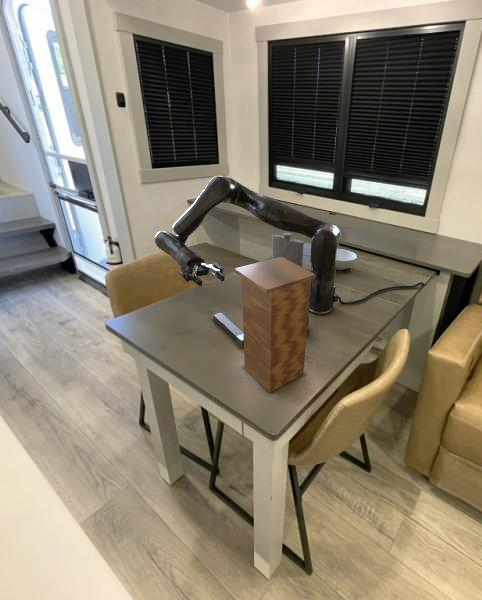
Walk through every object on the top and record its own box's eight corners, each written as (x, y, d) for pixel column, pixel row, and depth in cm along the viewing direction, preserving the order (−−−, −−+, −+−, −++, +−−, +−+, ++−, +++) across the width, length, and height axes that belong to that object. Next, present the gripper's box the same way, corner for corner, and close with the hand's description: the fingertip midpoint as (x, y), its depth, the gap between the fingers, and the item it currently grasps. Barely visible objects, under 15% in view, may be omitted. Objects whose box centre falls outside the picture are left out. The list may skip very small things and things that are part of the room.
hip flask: (302, 276, 156) (305, 235, 146) (298, 279, 152) (301, 238, 143) (274, 268, 162) (275, 228, 152) (269, 271, 159) (270, 230, 149)
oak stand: (278, 348, 107) (281, 256, 91) (307, 372, 98) (315, 274, 82) (238, 367, 98) (233, 268, 82) (265, 395, 89) (266, 290, 73)
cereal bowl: (356, 275, 161) (359, 261, 158) (323, 272, 161) (324, 259, 158) (352, 261, 176) (354, 249, 173) (321, 259, 176) (323, 247, 172)
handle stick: (222, 317, 121) (221, 309, 119) (252, 344, 108) (252, 336, 106) (212, 320, 118) (211, 313, 117) (241, 348, 105) (241, 340, 104)
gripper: (170, 253, 115) (194, 275, 106) (207, 248, 125) (231, 268, 116) (170, 272, 119) (193, 295, 110) (206, 266, 129) (229, 286, 120)
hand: (212, 281), depth 113 cm, fingers open, 8 cm apart
